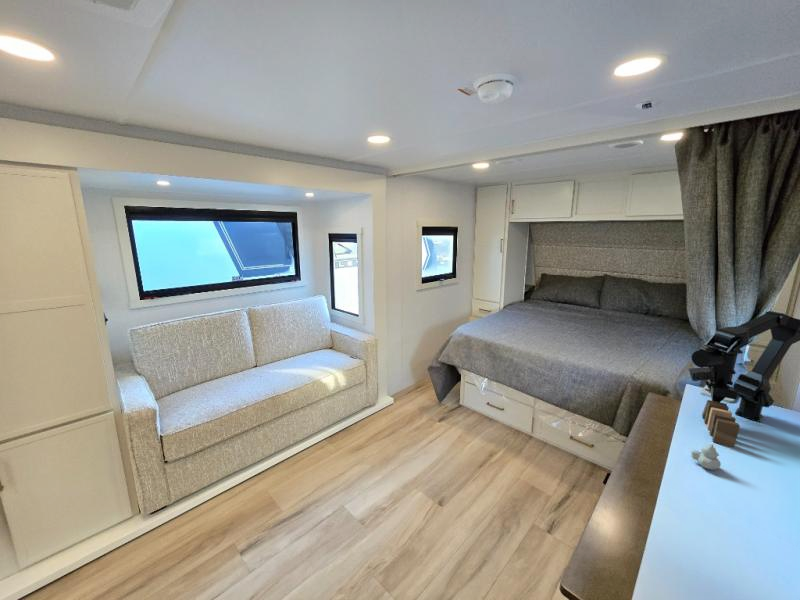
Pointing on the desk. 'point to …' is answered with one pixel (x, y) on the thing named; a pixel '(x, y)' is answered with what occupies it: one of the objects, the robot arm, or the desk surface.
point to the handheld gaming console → (707, 392)
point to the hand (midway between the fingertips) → (714, 404)
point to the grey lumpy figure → (707, 457)
